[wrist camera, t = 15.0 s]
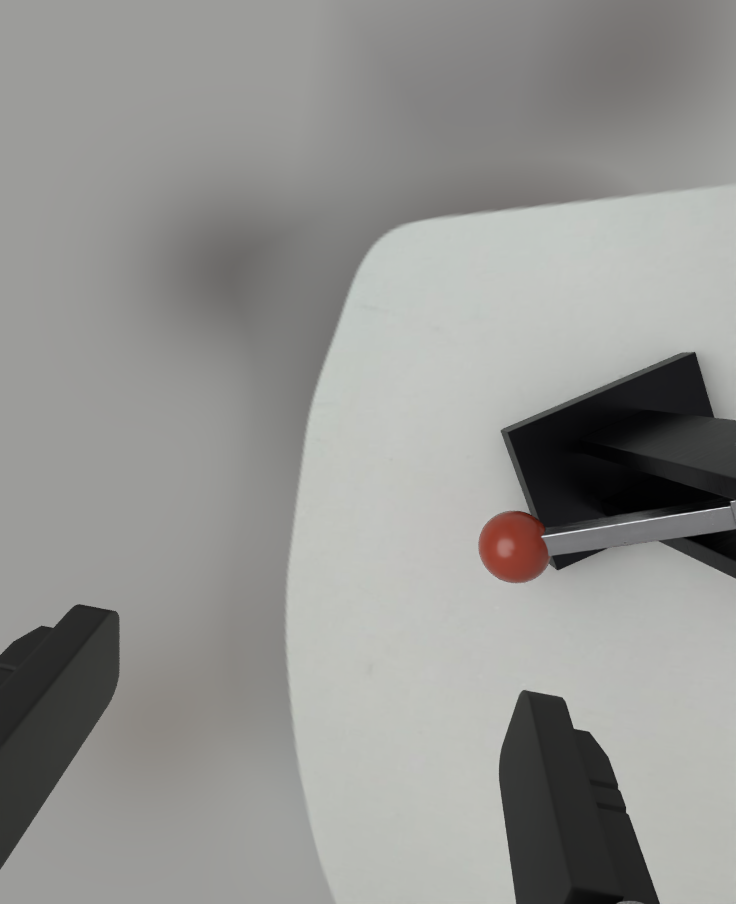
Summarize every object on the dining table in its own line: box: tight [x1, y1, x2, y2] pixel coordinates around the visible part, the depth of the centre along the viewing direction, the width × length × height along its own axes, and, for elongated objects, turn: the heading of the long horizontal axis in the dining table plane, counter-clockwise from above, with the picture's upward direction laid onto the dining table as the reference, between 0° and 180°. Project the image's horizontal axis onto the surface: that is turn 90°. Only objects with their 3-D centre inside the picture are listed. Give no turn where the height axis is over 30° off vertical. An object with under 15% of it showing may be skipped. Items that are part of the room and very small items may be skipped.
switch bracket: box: [501, 352, 736, 578], centre depth 28 cm, size 12×9×14 cm
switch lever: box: [478, 497, 736, 583], centre depth 26 cm, size 14×4×4 cm
